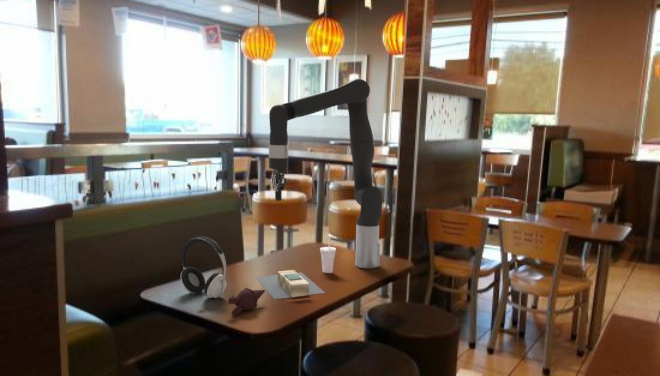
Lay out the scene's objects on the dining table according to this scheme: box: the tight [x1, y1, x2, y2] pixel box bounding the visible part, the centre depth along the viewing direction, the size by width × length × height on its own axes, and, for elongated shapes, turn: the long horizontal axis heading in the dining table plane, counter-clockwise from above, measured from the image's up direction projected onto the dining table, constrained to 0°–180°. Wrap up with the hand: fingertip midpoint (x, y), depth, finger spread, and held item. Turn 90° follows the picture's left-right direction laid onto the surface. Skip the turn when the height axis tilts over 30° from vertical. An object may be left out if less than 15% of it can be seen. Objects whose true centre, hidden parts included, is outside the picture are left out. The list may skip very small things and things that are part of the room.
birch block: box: [277, 269, 310, 298], centre depth 170 cm, size 4×6×16 cm
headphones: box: [180, 235, 228, 299], centre depth 162 cm, size 19×8×20 cm, turn 60°
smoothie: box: [319, 237, 337, 274], centre depth 190 cm, size 6×6×14 cm
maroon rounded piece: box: [227, 287, 266, 317], centre depth 153 cm, size 7×7×15 cm
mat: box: [255, 272, 326, 300], centre depth 175 cm, size 24×18×1 cm
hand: (278, 200), depth 194 cm, fingers closed
